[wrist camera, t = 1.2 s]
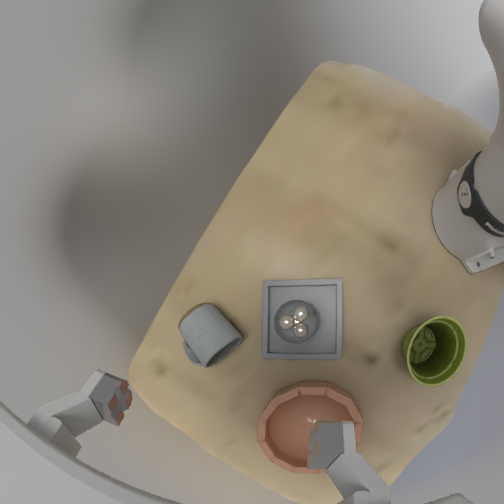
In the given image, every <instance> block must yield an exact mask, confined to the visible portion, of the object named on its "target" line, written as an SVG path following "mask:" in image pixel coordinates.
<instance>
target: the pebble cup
mask: <svg viewBox="0 0 504 504" xmlns="http://www.w3.org/2000/svg"><path fill="white" fill-rule="evenodd" d="M319 325H320V314H319V311H318V310H317V308H316V307H315V306H314V305H312V304H310V303H307V302H305V301H302V300H291V301H288V302H286V303H284V304H283V305H282V306H280V308H279V309H278V310H277V312H276V314H275V317H274V327H275V330H276V332H277V334H278V336H279V337H280V338H281V339H283V340H284V341H286V342H288V343H292V344H300V343H303V342H306V341H308V340H309V339H310V338H311V337H312V336H313V335H314V334H315V332H316V331H317V329H318V327H319Z"/></svg>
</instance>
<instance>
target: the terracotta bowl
mask: <svg viewBox="0 0 504 504" xmlns="http://www.w3.org/2000/svg"><path fill="white" fill-rule="evenodd" d="M317 420H340V421H353V423H354V430H355V439H356V449H357V447H358V446H359V445H360V441H361V435H362V428H363V418H362V414H361V412H360V410H359V408H358V406H357V405H356V403H355V401H354V399H353V397H352V396H351V394H350V393H349V392H347V391H345V390H343V389H341V388H339V387H337V386H335V385H334V384H332V383H330V382H328V381H300V382H298V383H296V384H294V385H292V386H290V387H288V388H286V389H284V390H282V391H279V392H277V393H276V395H275V396H274V398H273V399H272V400H271V402H270V403H269V405H268V406H267V407H266V409H265V410H264V412H263V413H262V414H261V416H260V417H259V418H258V438H257V441H258V443H259V445H260V446H261V448H262V449H263V451H264V452H265V454H266V455H267V457H268V458H269V460H270V461H272V462H273V463H275V464H277V465H279V466H281V467H283V468H285V469H287V470H289V471H291V472H299V473H320V472H323V471H326V469H307V456H308V455H309V453H310V452H311V451H310V450H309V448H308V438H309V434H310V432H311V430H312V429H313V428H315V423H316V421H317Z"/></svg>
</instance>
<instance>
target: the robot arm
mask: <svg viewBox="0 0 504 504" xmlns="http://www.w3.org/2000/svg"><path fill="white" fill-rule="evenodd" d="M479 30H480V35H481V38H482V41H483V43H484V45H485V47H486V49H487V51H488V53H489V55H490V58H491V60H492V62H493V65H494V69H495V72H496V76H497V80H498V87H499V97H500V109H499V117H498V122H497V125H496V128H495V130H494V132H493V134H492V136H491V138H490V139H489V141H488V143H487V144H486V146H485V148H484V149H483V150H482V151H480V152H478V153H477V154H476V155H475V156H474V157H473V158H472V159H471V160H469V161H467V162H466V163H465V164H464V165H463V166H462V167H461V168H460V169H459V170H453V171H452V172H451V173H450V175H449V177H448V180H447V183H446V184H445V185H444V186H443V187H442V188H441V189H440V190H439V191H438V192H437V194H436V196H435V198H434V201H433V207H432V217H433V223H434V227H435V230H436V233H437V235H438V237H439V239H440V241H441V242H442V244H443V245H444V246H445V247H446V249H447V250H448V251H449V252H450V253H452V254H453V255H454V256H456V257H457V258H458V259H460V260H461V262H462V263H463V265H464V267H465V268H466V270H467V271H468V272H469V273H470V274H475V273H477V272H480V271H483V270H485V269H488V268H490V267H493V266H495V265H498V264H500V263H502V262H504V0H484V1H483V3H482V5H481V8H480V11H479ZM477 263H478V265H479V266H477ZM128 386H129V384H128V382H127V380H124V379H121V378H119V377H116V376H113V375H111V374H108V373H106V372H104V371H101V370H99V369H98V370H96V371H95V372H94V373H93V375H92V376H91V377H90V379H89V380H88V381H87V383H86V384H85V386H84V387H83V388H82V390H81V391H80V392H74V393H72V394H70V395H67V396H65V397H62V398H60V399H57V400H55V401H52V402H50V403H47V404H45V405H42V406H40V407H39V408H38V410H37V411H36V412H35V414H34V415H33V417H32V418H31V419H30V421H29V422H28V423H27V424H26V423H25V422H24V421H22V420H21V419H20V418H19V417H18V416H17V415H15V414H14V413H13V412H12V411H11V410H10V409H9V408H7V407H6V406H5V405H4V404H3V403H2V402H1V401H0V504H181V503H178V502H175V501H172V500H169V499H165V498H162V497H160V496H156V495H154V494H151V493H148V492H146V491H143V490H140V489H138V488H136V487H133V486H131V485H128V484H126V483H124V482H121V481H119V480H117V479H115V478H113V477H111V476H109V475H107V474H104V473H103V472H101V471H98V470H97V469H95V468H93V467H91V466H89V465H87V464H86V463H84V462H82V461H80V460H79V459H77V458H76V456H77V454H78V452H79V450H80V449H81V445H80V443H79V442H78V441H77V440H76V439H75V437H77V436H78V435H80V434H82V433H84V432H85V431H87V430H89V429H91V428H92V427H94V426H95V425H97V424H99V423H101V422H102V421H103V420H105V421H107V422H110V423H112V424H114V425H117V426H119V425H120V423H121V421H122V419H123V418H124V412H123V411H125V410H127V409H129V407H130V405H131V402H132V393H131V391H130V390H129V389H128V388H127V387H128ZM308 448H309V450H310V451H311V452H310V453H309V455H308V456H307V469H326V471H327V473H328V475H329V476H330V478H331V479H332V481H333V482H334V484H335V486H336V487H337V489H338V490H339V492H340V493H341V495H342V496H343V498H344V500H342V501H341V502H339V503H337V504H391V500H390V489H389V486H388V485H387V484H386V482H385V481H384V480H383V479H382V478H381V477H380V476H379V475H378V473H377V472H376V471H375V470H374V469H373V468H372V467H371V465H370V464H369V463H368V462H367V461H366V460H365V458H364V457H363V456H362V455H361V454H360V453H357V449H356V439H355V430H354V423H353V421H340V420H317V421H316V423H315V428H313V429H312V430H311V432H310V434H309V438H308ZM425 504H473V503H472V502H471V501H470V500H468V499H467V498H466V497H464V496H463V495H462V494H460V493H455V494H452V495H449V496H446V497H443V498H440V499H437V500H435V501H431V502H428V503H425Z"/></svg>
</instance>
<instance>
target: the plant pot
mask: <svg viewBox="0 0 504 504" xmlns="http://www.w3.org/2000/svg"><path fill="white" fill-rule="evenodd" d="M427 331H429V332H430V333H431V335H432V337H430V335H429V334H428V333H427ZM419 343H421V346H419ZM402 351H403V355H404V357H405V358H406V360H407V366H408V370H409V372H410V374H411V376H412V377H413V378H414V380H415V381H417V382H418V383H419V384H421V385H424V386H438V385H441V384H443V383H445V382H447V381H448V380H450V379H451V378H452V377H453V376H454V375H455V374H456V373H457V371H458V370H459V369H460V367H461V365H462V363H463V361H464V358H465V355H466V351H467V337H466V333H465V330H464V329H463V327H462V325H461V324H460V323H459V322H458V321H457V320H456V319H454V318H452V317H449V316H436V317H433V318H431V319H429V320H427V321H426V322H424V323H423V324H422V325H420V326H416V327H414V328H412V329H411V330H410V331H409V332H408V333H407V334H406V336H405V338H404V341H403V345H402ZM428 352H429V354H428V355H427V356H426V357H425V358H423V356H424V355H426V354H427V353H428ZM409 356H411V357H409Z"/></svg>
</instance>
